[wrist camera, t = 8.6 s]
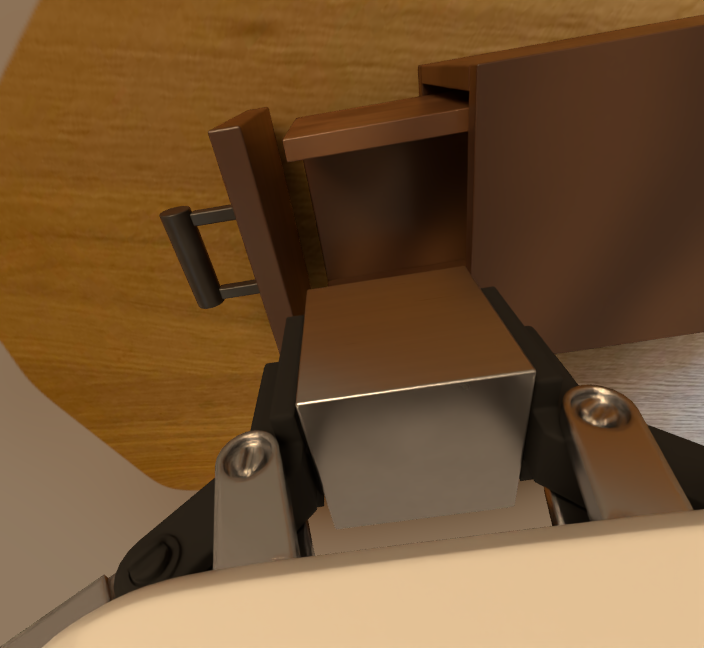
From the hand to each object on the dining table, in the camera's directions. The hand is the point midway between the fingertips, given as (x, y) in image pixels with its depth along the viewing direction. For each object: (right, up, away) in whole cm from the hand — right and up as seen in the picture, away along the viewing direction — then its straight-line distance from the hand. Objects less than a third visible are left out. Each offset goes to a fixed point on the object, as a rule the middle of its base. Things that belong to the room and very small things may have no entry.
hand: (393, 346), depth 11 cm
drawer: (-1, +8, +11) cm, 14 cm away
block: (0, 0, 0) cm, 0 cm away
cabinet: (+10, +10, +12) cm, 19 cm away
